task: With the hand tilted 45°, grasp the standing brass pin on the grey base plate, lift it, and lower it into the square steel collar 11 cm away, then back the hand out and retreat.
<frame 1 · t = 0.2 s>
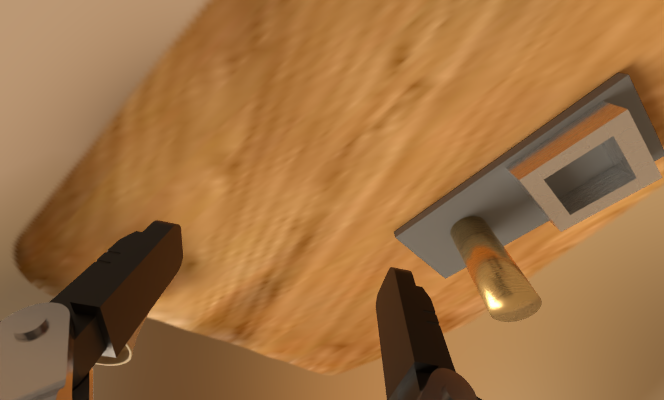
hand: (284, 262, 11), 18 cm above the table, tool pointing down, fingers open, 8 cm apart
pin: (468, 230, 31), point 1 cm above the table, touching grey base plate
collar: (570, 166, 26), resting on grey base plate
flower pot: (136, 286, 40), on the table
grey base plate: (510, 195, 29), on the table
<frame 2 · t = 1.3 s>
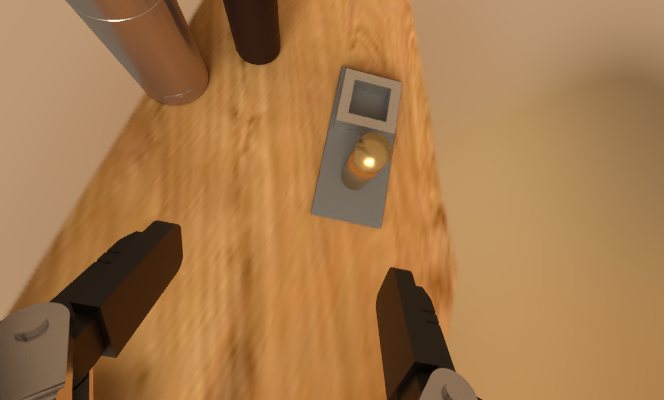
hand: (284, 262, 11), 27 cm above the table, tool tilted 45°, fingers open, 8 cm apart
pin: (354, 176, 39), point 1 cm above the table, touching grey base plate
bottle: (258, 48, 43), on the table
collar: (365, 109, 42), resting on grey base plate
grey base plate: (358, 145, 42), on the table
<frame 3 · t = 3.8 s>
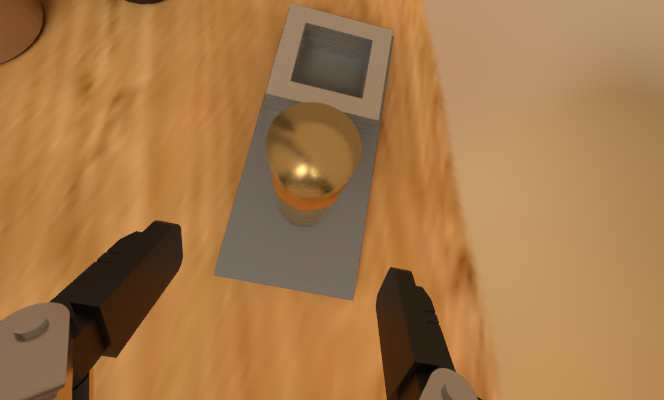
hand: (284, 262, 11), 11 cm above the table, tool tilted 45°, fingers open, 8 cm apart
pin: (304, 201, 21), point 1 cm above the table, touching grey base plate
collar: (329, 80, 24), resting on grey base plate
grey base plate: (316, 142, 23), on the table
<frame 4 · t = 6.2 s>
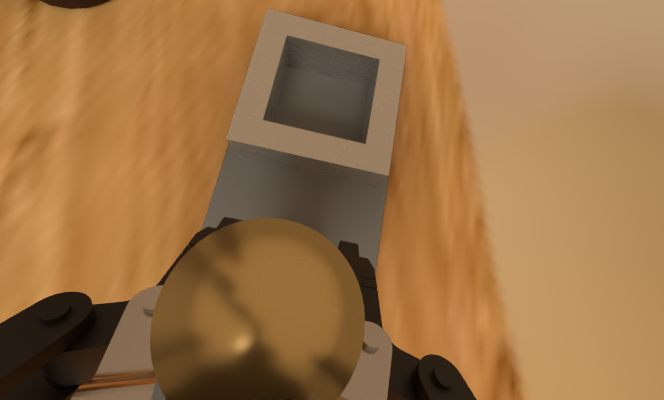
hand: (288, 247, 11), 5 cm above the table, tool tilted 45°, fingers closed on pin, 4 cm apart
pin: (282, 288, 15), point 1 cm above the table, touching gripper, grey base plate
collar: (320, 112, 18), resting on grey base plate
grey base plate: (303, 196, 17), on the table
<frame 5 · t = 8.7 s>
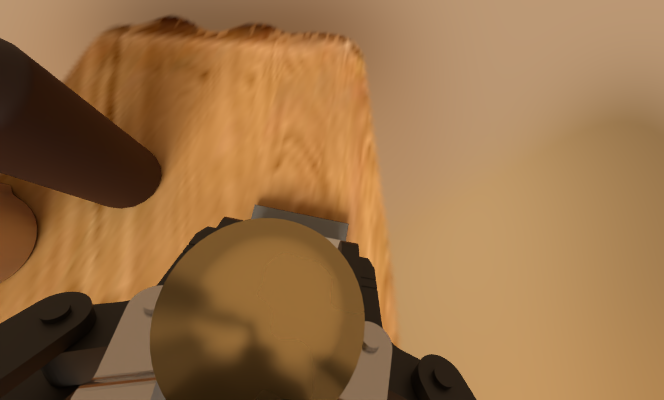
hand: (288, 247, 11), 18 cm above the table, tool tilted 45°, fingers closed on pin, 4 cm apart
pin: (283, 288, 15), point 14 cm above the table, touching gripper
bottle: (128, 177, 28), on the table
grey base plate: (276, 334, 27), on the table
when the fingers open (7 cm above the table, at t = 11.6 s): pin drops 1 cm, resting on grey base plate.
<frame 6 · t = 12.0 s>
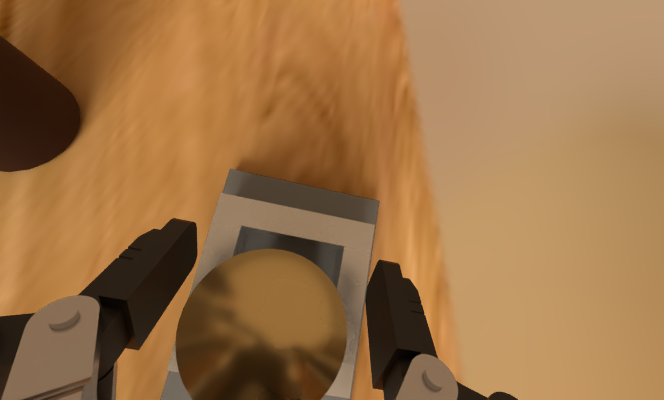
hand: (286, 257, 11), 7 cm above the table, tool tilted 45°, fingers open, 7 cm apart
pin: (283, 288, 16), point 1 cm above the table, touching grey base plate
bottle: (27, 125, 18), on the table
collar: (283, 286, 16), resting on grey base plate
grey base plate: (263, 383, 16), on the table
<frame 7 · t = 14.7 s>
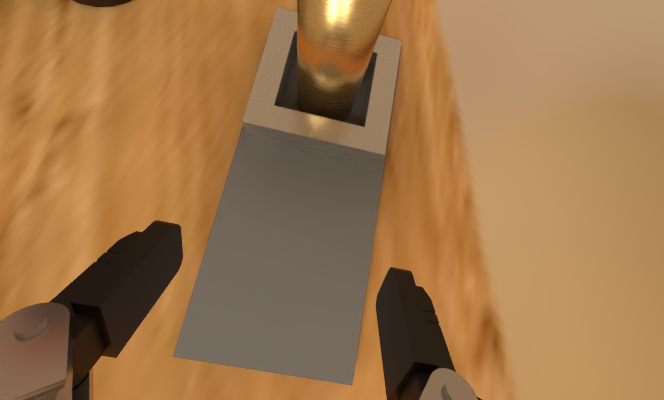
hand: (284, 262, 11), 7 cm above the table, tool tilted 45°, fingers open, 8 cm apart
pin: (324, 101, 20), point 1 cm above the table, touching grey base plate
collar: (324, 100, 20), resting on grey base plate
grey base plate: (308, 176, 19), on the table
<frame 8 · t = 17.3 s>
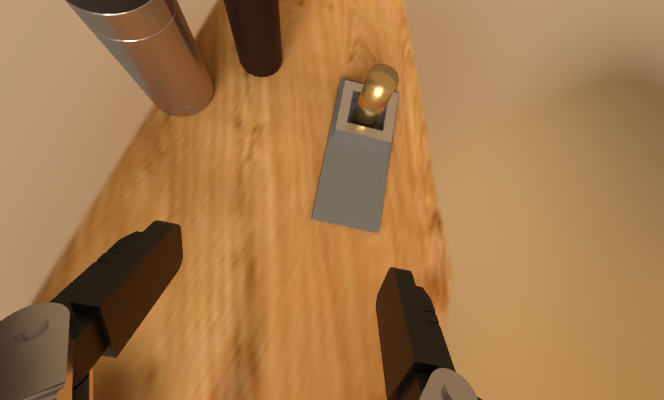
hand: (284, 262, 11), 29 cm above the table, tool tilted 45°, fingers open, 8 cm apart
pin: (364, 119, 44), point 1 cm above the table, touching grey base plate
bottle: (261, 61, 45), on the table
collar: (364, 119, 44), resting on grey base plate
grey base plate: (357, 152, 43), on the table
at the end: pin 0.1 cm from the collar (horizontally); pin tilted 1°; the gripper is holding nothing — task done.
